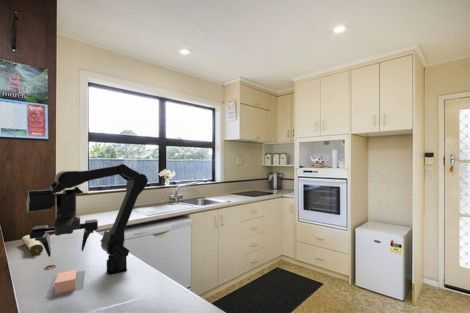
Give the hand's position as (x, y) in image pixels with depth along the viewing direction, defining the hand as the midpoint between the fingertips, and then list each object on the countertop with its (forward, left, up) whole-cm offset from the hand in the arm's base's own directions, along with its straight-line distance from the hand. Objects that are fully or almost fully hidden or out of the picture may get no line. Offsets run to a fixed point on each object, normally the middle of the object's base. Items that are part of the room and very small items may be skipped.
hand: (66, 253), depth 83 cm
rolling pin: (+19, -56, -12) cm, 60 cm away
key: (+7, -17, -12) cm, 22 cm away
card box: (0, 0, -11) cm, 11 cm away
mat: (0, -3, -12) cm, 12 cm away
